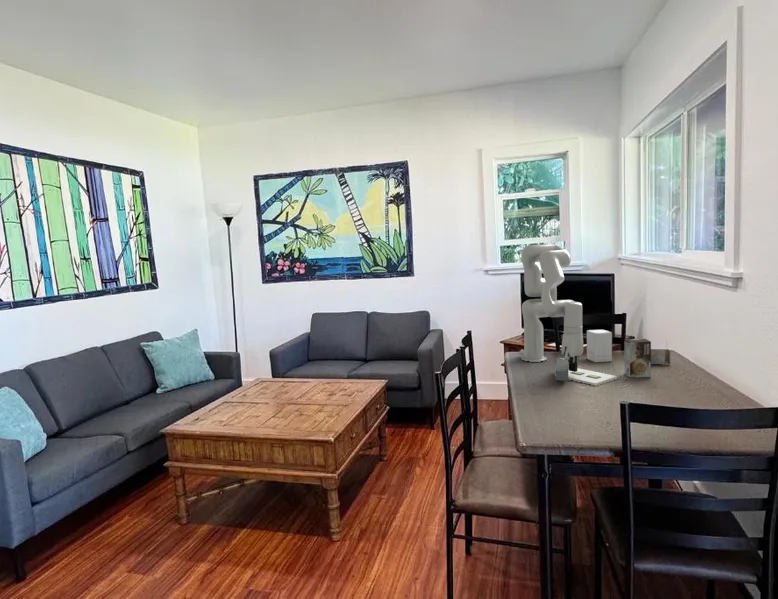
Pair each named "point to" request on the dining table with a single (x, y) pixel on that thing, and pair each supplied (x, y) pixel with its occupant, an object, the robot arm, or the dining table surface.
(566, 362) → the swing bar
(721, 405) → the dining table surface
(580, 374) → the label board
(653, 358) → the blue grey rectangular box
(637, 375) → the coffee box
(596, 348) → the supplement box
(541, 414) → the dining table surface
